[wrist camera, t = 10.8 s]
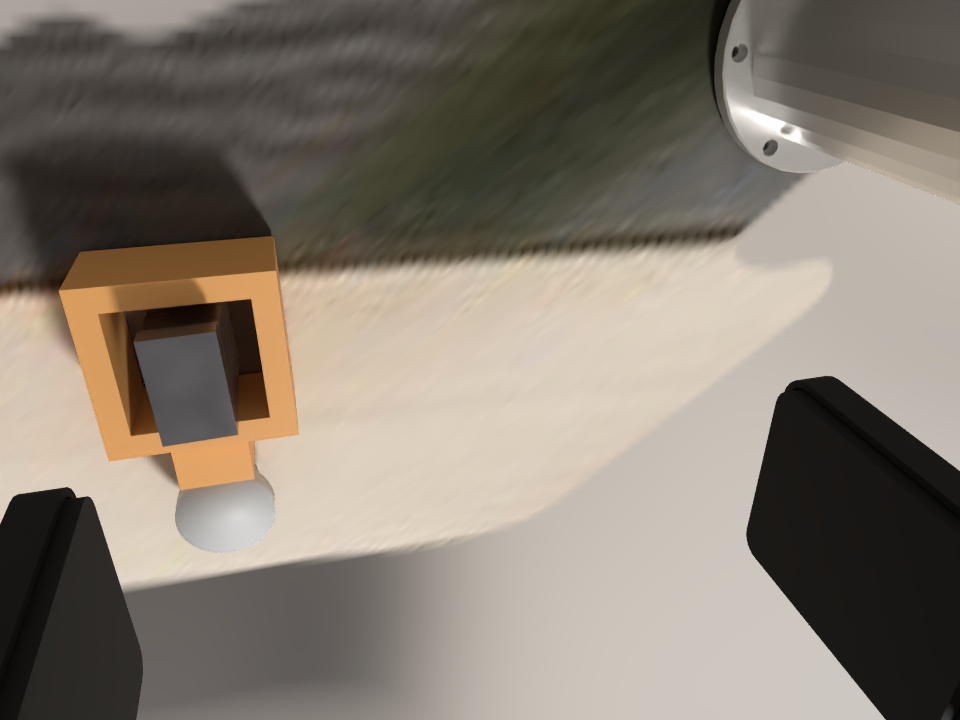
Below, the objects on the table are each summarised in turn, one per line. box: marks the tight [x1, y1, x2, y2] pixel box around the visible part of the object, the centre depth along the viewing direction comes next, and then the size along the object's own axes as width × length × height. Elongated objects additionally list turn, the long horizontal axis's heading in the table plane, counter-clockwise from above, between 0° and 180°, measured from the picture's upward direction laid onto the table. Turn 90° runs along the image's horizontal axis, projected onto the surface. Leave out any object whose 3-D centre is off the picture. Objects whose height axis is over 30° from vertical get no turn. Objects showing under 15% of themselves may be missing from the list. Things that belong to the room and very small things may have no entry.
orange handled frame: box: [59, 236, 299, 553], centre depth 37 cm, size 17×9×4 cm, turn 0°
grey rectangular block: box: [133, 301, 239, 447], centre depth 35 cm, size 3×5×6 cm, turn 1°
